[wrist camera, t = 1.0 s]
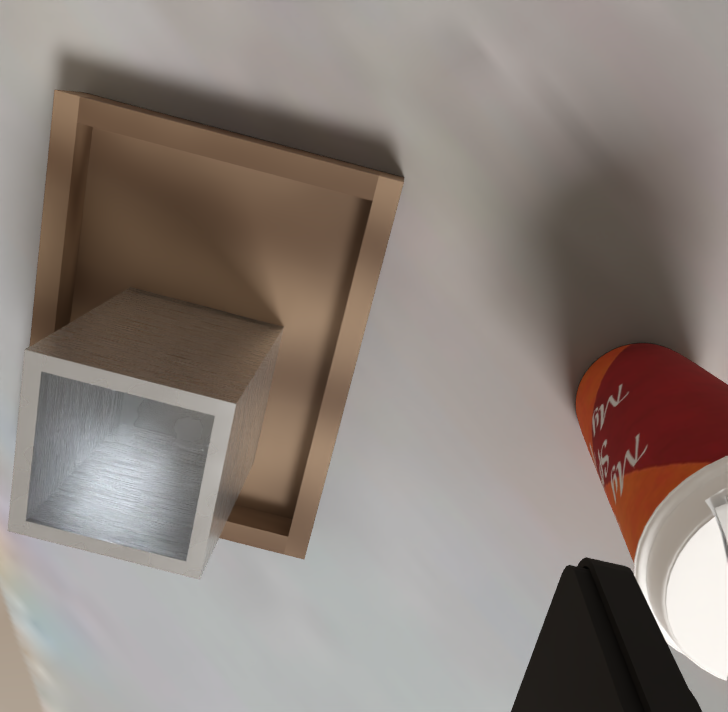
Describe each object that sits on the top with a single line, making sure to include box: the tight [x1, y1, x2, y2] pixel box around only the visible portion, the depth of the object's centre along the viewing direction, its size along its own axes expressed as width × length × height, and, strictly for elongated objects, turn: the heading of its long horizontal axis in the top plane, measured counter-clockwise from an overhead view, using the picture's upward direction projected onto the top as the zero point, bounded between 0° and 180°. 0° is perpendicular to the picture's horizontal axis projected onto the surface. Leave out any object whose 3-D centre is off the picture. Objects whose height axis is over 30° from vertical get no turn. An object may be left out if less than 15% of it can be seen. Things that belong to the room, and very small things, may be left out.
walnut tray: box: [30, 90, 404, 559], centre depth 31 cm, size 18×14×2 cm
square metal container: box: [8, 287, 284, 579], centre depth 28 cm, size 7×7×9 cm
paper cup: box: [576, 343, 728, 680], centre depth 26 cm, size 8×8×14 cm
